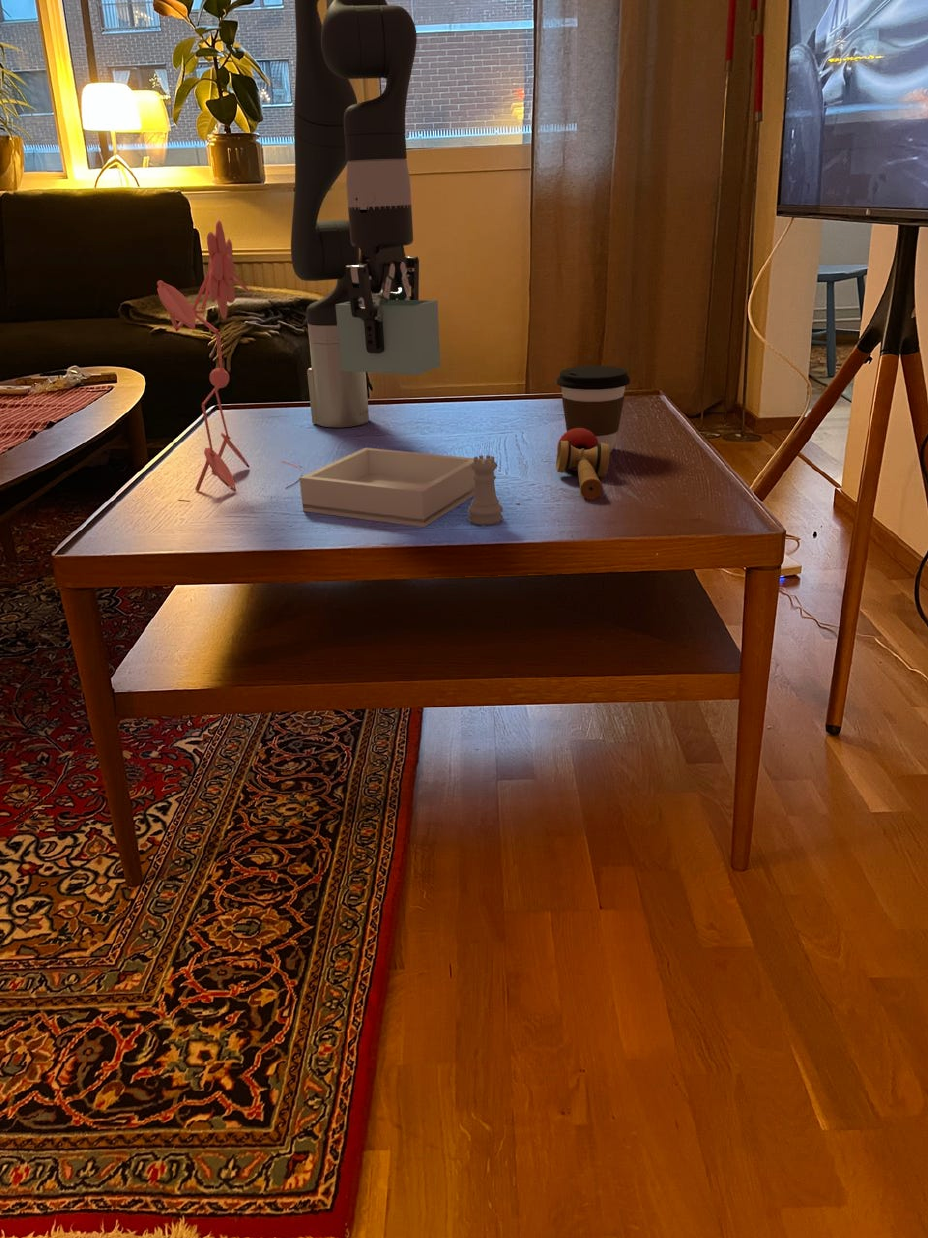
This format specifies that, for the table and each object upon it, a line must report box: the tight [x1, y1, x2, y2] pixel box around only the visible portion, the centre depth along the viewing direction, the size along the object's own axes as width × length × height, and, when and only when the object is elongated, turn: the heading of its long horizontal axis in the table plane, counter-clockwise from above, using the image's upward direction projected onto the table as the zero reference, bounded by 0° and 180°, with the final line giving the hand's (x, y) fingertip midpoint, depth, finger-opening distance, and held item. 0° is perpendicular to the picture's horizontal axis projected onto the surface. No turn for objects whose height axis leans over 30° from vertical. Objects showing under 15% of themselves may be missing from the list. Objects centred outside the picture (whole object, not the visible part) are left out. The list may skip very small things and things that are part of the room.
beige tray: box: [299, 447, 475, 528], centre depth 129 cm, size 18×16×4 cm
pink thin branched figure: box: [156, 220, 303, 503], centre depth 134 cm, size 15×26×35 cm, turn 179°
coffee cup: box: [556, 365, 631, 453], centre depth 148 cm, size 11×11×12 cm
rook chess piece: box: [467, 454, 504, 527], centre depth 120 cm, size 4×4×8 cm
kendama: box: [555, 428, 611, 500], centre depth 135 cm, size 8×6×18 cm
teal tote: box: [336, 299, 441, 376], centre depth 122 cm, size 11×6×8 cm, turn 64°
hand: (388, 348), depth 122 cm, fingers closed on teal tote, 6 cm apart
